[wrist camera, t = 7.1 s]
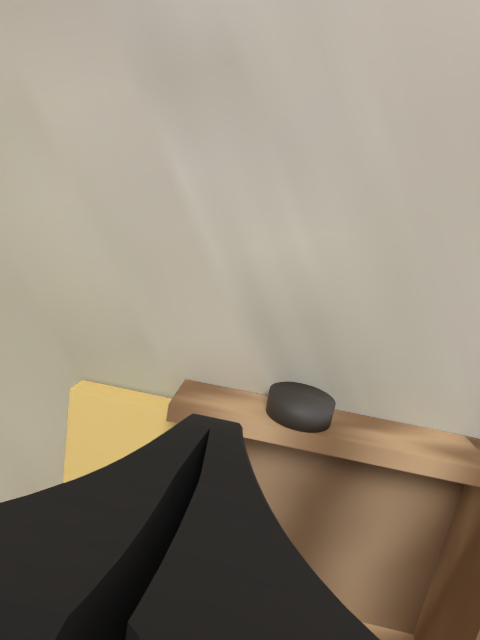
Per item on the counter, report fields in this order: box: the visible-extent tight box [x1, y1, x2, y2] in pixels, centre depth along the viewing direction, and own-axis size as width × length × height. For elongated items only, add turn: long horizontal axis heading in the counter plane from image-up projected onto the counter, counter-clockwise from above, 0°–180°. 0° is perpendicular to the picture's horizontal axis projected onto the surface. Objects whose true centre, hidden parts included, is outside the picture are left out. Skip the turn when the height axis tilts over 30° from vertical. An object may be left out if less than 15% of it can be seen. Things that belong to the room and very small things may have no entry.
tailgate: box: [63, 380, 178, 483], centre depth 20 cm, size 1×10×6 cm
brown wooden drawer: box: [166, 379, 480, 640], centre depth 18 cm, size 15×14×5 cm
